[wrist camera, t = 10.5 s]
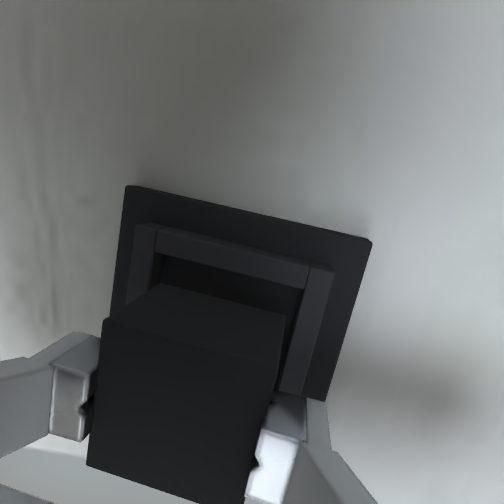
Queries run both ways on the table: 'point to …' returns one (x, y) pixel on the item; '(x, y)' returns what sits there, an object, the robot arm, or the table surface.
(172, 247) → the base pad
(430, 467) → the table surface
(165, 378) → the black square block
